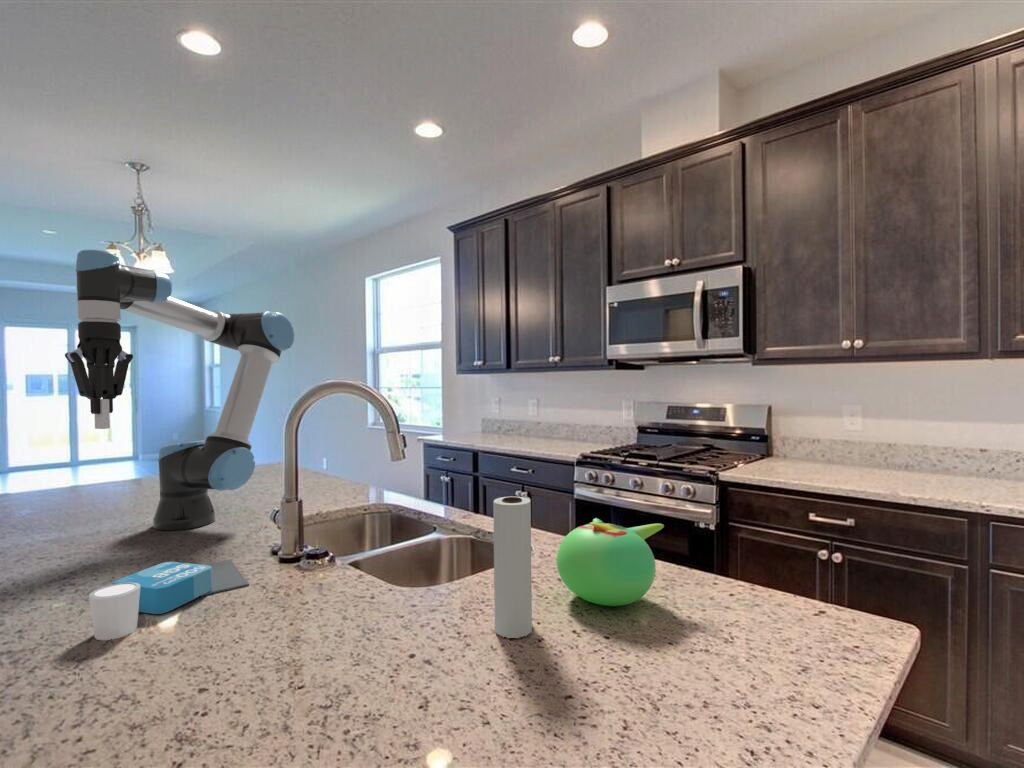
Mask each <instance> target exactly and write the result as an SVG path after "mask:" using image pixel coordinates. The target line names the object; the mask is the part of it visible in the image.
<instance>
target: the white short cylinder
mask: <svg viewBox="0 0 1024 768" xmlns="http://www.w3.org/2000/svg"><path fill="white" fill-rule="evenodd" d="M139 597H140V584H138V583H132V582H129V583H119V584H113V583H112V584H109V585H106V586H102V587H99V588H98V589H95V590H93V591H91V592H90V593H89V595H88V600H89V607H90V613H91V620H92V627H93V629H92V630H93V634H94V638H95V639H96V640H98V641H111V639H112V640H116V639H120V638H122V637H126V636H128V634H129V635H130V634H133V633H134V632H135V631H137V629H138V621H139V612H138V609H139Z"/></svg>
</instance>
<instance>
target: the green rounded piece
mask: <svg viewBox="0 0 1024 768" xmlns="http://www.w3.org/2000/svg"><path fill="white" fill-rule="evenodd" d="M664 527H665V525H664V523H663V524H662V523H650V524H645V525H639V526H632V527H624V526H622V525H618V524H617V525H616V524H615V523H614V524H613V523H609V522H608V523H606V522H603V520H601V519H599V518H597V517H595V518H593V519H592V521H591V522H589V523H587V524H583V525H580V526H578V527H575V528H574V529H573V530H571V531H569V533H567V534H566V535H565V536H564V538H563V539H562V540H561V542H560V544H559V546H558V549H557V554H556V565H557V571H558V574H559V577H560V579H561V580H562V582H563V584H564V585H565V586H566V587H567V589H569V590H570V592H572V593H573V594H575V596H577V597H579V598H581V599H582V600H584V601H587V602H590V603H591V604H595V605H599V606H606V607H619V606H625V605H629V604H632V603H635V602H637V601H638V600H640V599H641V598H643V596H645V595H646V594H647V592H649V590H650V588H651V587H652V585H653V583H654V580H655V577H656V566H657V565H656V560H655V555H654V553H653V551H652V549H651V548H650V546H649V544H648V542H646V541H645V540H646V539H647V538H649V537H651V536H652V535H655V534H656V533H657V532H660V531H661V530H662V529H663V528H664Z"/></svg>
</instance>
